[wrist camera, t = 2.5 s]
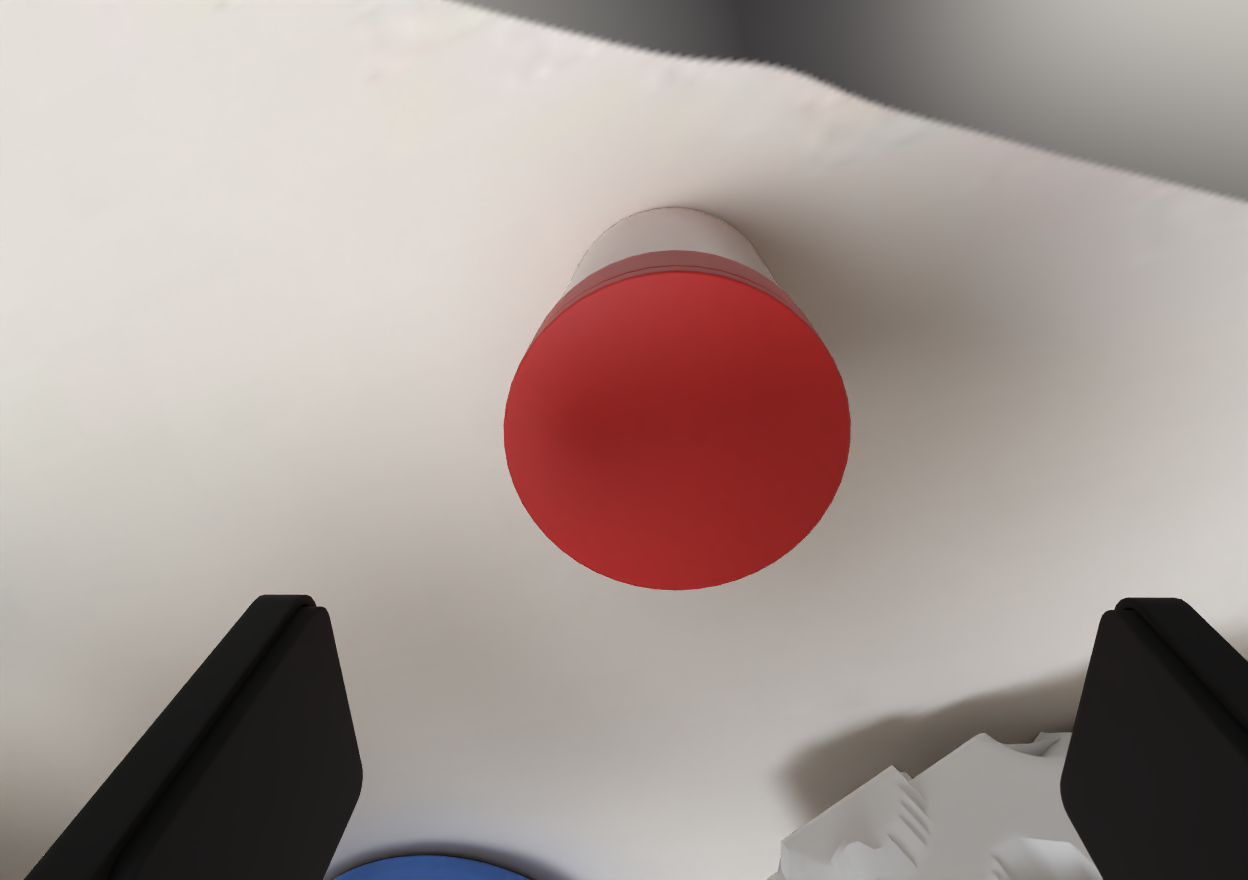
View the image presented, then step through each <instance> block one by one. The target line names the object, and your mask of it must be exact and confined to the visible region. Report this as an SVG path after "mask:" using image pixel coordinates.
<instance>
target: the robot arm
mask: <svg viewBox="0 0 1248 880" xmlns="http://www.w3.org/2000/svg"><path fill="white" fill-rule="evenodd" d="M362 780H363V770H362V764H361V759H360V754H359V750H358V745H357V741H356V736H355V731H354V727H353V722H352V718H351V713H350V708H349V704H348V699H347V694H346V690H345V685H344V681H343V676H342V671H341V667H340V662H339V658H338V653H337V648H336V644H335V639H334V635H333V630H332V625H331V621H330V617H329V614H328V611H327V610H326V608H324V607H316V604H315V601H314V600H313V599H312V597H310V596H308V595H262V596H259V597H258V598H257V599H256V600H255V601H254V602H253V603H252V604H251V605H250V606H249V608H248V609H247V610H246V611H245V613H244V614H243V615H242V616H241V617H240V619H239V620H238V621H237V622H236V623H235V625H234V626H233V627H232V628H231V629H230V631H229V632H228V633H227V634H226V636H225V637H224V638H223V639H222V640H221V642H220V643H219V644H218V645H217V646H216V648H215V649H214V650H213V651H212V652H211V654H210V655H209V656H208V657H207V659H206V660H205V661H204V662H203V663H202V665H201V666H200V667H199V668H198V669H197V671H196V672H195V673H194V674H193V675H192V677H191V678H190V679H189V680H188V682H187V683H186V684H185V685H184V686H183V688H182V689H181V690H180V691H179V692H178V694H177V695H176V696H175V697H174V698H173V700H172V701H171V702H170V703H169V705H168V706H167V707H166V708H165V709H164V711H163V712H162V713H161V714H160V715H159V717H158V718H157V719H156V720H155V721H154V723H153V724H152V725H151V726H150V728H149V729H148V730H147V731H146V732H145V734H144V735H143V736H142V737H141V738H140V740H139V741H138V742H137V743H136V744H135V746H134V747H133V748H132V749H131V750H130V752H129V753H128V754H127V755H126V757H125V758H124V759H123V760H122V761H121V763H120V764H119V765H118V766H117V767H116V769H115V770H114V771H113V772H112V773H111V775H110V776H109V777H108V778H107V780H106V781H105V782H104V783H103V784H102V786H101V787H100V788H99V789H98V790H97V792H96V793H95V794H94V795H93V796H92V798H91V799H90V800H89V801H88V803H87V804H86V805H85V806H84V807H83V809H82V810H81V811H80V812H79V813H78V815H77V816H76V817H75V818H74V819H73V821H72V822H71V823H70V824H69V826H68V827H67V828H66V829H65V830H64V832H63V833H62V834H61V835H60V836H59V838H58V839H57V840H56V841H55V842H54V844H53V845H52V846H51V847H50V849H49V850H48V851H47V852H46V853H45V855H44V856H43V857H42V858H41V859H40V861H39V862H38V863H37V864H36V865H35V867H34V868H33V869H32V870H31V872H30V873H29V874H28V875H27V876H26V878H25V879H24V880H323V878H324V876H325V873H326V871H327V869H328V867H329V864H330V862H331V860H332V858H333V855H334V853H335V851H336V849H337V846H338V844H339V842H340V840H341V837H342V835H343V833H344V831H345V828H346V826H347V824H348V822H349V819H350V817H351V815H352V813H353V810H354V808H355V806H356V803H357V801H358V798H359V796H360V792H361V788H362ZM1060 793H1061V799H1062V803H1063V806H1064V809H1065V811H1066V813H1067V816H1068V817H1069V819H1070V821H1071V823H1072V825H1073V826H1074V828H1075V830H1076V832H1077V833H1078V835H1079V837H1080V839H1081V841H1082V842H1083V844H1084V846H1085V848H1086V850H1087V851H1088V853H1089V855H1090V857H1091V859H1092V860H1093V862H1094V864H1095V866H1096V868H1097V869H1098V871H1099V873H1100V875H1101V877H1102V878H1103V880H1248V661H1246V660H1245V659H1244V658H1243V657H1242V656H1241V655H1240V654H1239V653H1238V652H1237V651H1236V650H1235V649H1234V648H1233V647H1232V646H1231V645H1230V644H1229V643H1228V642H1227V641H1226V640H1225V639H1224V638H1223V637H1222V636H1221V635H1220V634H1219V633H1218V632H1217V631H1216V630H1215V629H1214V628H1213V627H1212V626H1210V625H1209V624H1208V623H1207V622H1206V621H1205V620H1204V619H1203V618H1202V617H1201V616H1200V615H1199V614H1198V613H1197V612H1196V611H1195V610H1194V609H1193V608H1192V607H1191V606H1190V605H1189V604H1187V603H1186V602H1185V601H1183V600H1182V599H1177V598H1125V599H1122V600H1120V602H1119V603H1118V604H1117V605H1116V607H1115V610H1109V611H1106V612H1105V613H1104V614H1103V615H1102V618H1101V620H1100V623H1099V627H1098V631H1097V635H1096V639H1095V643H1094V647H1093V651H1092V655H1091V659H1090V663H1089V667H1088V671H1087V675H1086V679H1085V683H1084V687H1083V691H1082V695H1081V699H1080V703H1079V707H1078V711H1077V715H1076V719H1075V723H1074V727H1073V731H1072V735H1071V739H1070V743H1069V747H1068V751H1067V755H1066V759H1065V763H1064V767H1063V771H1062V775H1061V780H1060Z"/></svg>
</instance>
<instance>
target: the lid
mask: <svg viewBox="0 0 1248 880" xmlns="http://www.w3.org/2000/svg"><path fill="white" fill-rule="evenodd" d="M850 431H851V419H850V412H849V404H848V398H847V394H846V391H845V387H844V384H843V380H842V377H841V375H840V373H839V371H838V368H837V366H836V364H835V362H834V360H833V358H832V356H831V354H830V353H829V351H828V350H827V348H826V347H825V345H824V343H823V342H822V340H821V339H820V337H819V336H818V334H817V333H816V331H815V330H814V328H813V327H812V326H811V324H810V323H809V321H808V320H807V318H806V317H805V315H804V314H803V312H802V311H801V310H800V309H799V307H798V306H797V305H796V304H795V303H794V302H793V300H792V299H791V298H790V297H789V296H788V295H787V294H786V293H785V292H784V291H783V290H781V289H780V288H779V287H778V286H777V285H776V284H775V283H773V282H772V281H771V280H769V279H768V278H766V277H765V276H763V275H762V274H760V273H758V272H757V271H755V270H753V269H751V268H749V267H747V266H745V265H743V264H741V263H739V262H737V261H734V260H731V259H728V258H724V257H721V256H718V255H715V254H709V253H703V252H698V251H685V250H667V251H656V252H649V253H644V254H640V255H635V256H631V257H628V258H625V259H623V260H620V261H617V262H614V263H612V264H609V265H607V266H606V267H604V268H602V269H600V270H598V271H596V272H594V273H592V274H591V275H589V276H588V277H586V278H585V279H584V280H582V281H581V282H580V283H578V284H577V285H575V286H574V287H573V288H572V289H571V290H570V291H569V292H568V293H567V294H566V295H565V296H563V297H562V298H561V299H560V300H559V301H558V303H557V304H556V305H555V306H554V308H553V309H552V310H551V311H550V313H549V314H548V315H547V316H546V318H545V320H544V321H543V323H542V325H541V327H540V328H539V330H538V332H537V333H536V335H535V337H534V339H533V341H532V342H531V344H530V346H529V348H528V350H527V351H526V353H525V355H524V357H523V359H522V361H521V362H520V364H519V367H518V369H517V372H516V374H515V376H514V379H513V381H512V384H511V387H510V391H509V395H508V399H507V403H506V409H505V418H504V447H505V453H506V459H507V465H508V469H509V472H510V475H511V478H512V481H513V484H514V487H515V489H516V491H517V493H518V495H519V497H520V499H521V502H522V504H523V505H524V507H525V508H526V510H527V511H528V513H529V515H530V516H531V518H532V519H533V521H534V522H535V523H536V524H537V526H538V527H539V528H540V529H541V530H542V532H543V533H544V534H545V535H546V536H547V537H548V538H549V539H550V540H551V541H552V542H553V543H554V544H555V545H556V546H557V547H559V548H560V549H561V550H562V551H563V552H565V553H566V554H567V555H569V556H570V557H571V558H573V559H574V560H576V561H577V562H578V563H580V564H582V565H584V566H586V567H588V568H589V569H591V570H593V571H595V572H597V573H599V574H602V575H604V576H606V577H609V578H611V579H614V580H616V581H620V582H624V583H627V584H631V585H634V586H639V587H646V588H652V589H662V590H690V589H701V588H706V587H712V586H718V585H721V584H725V583H728V582H732V581H735V580H739V579H741V578H743V577H746V576H748V575H751V574H753V573H755V572H758V571H759V570H761V569H763V568H765V567H767V566H768V565H770V564H772V563H774V562H775V561H777V560H778V559H780V558H781V557H782V556H784V555H785V554H786V553H788V552H789V551H791V550H792V549H793V548H794V547H795V546H796V545H797V544H798V543H800V542H801V541H802V540H803V539H804V538H805V537H806V536H807V535H808V534H809V533H810V531H811V530H812V529H813V528H814V527H815V525H816V524H817V523H818V522H819V521H820V520H821V518H822V516H823V515H824V513H825V512H826V510H827V509H828V507H829V505H830V504H831V502H832V500H833V498H834V496H835V494H836V492H837V490H838V488H839V485H840V483H841V480H842V477H843V474H844V471H845V467H846V464H847V459H848V453H849V447H850Z"/></svg>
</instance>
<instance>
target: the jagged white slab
mask: <svg viewBox="0 0 1248 880" xmlns="http://www.w3.org/2000/svg"><path fill="white" fill-rule="evenodd" d="M1071 735H1072V732H1059V733H1045V732H1040V733H1039V735H1038V736H1037V737H1036V739H1035V740H1034V742H1033V743H1029V744H1003V743H999V742H997V741H996V740H994V739H993V738H992V737H990V736H989V735H987V734H985V733H980V734H977V735H976V736H974V737H973V738H971V739H970V740H968V741H967V742H966V743H964V744H963V745H961V746H960V747H958V748H957V749H955V750H954V751H953V752H951V753H950V754H948V755H947V756H945V757H944V758H942V759H941V760H939V761H938V762H937V763H935V764H934V765H932V766H931V767H929V768H928V769H926V770H925V771H923V772H922V773H921V774H919V775H918V776H916V777H915V778H913V779H912V778H911V777H910V776H909V775H908V774H907V773H906V772H899V771H898V770H897V769H896V768H895V767H894V766H893V765H891V766H890V767H888V768H887V769H885V770H884V771H882V772H881V773H879V774H878V775H877V776H875V777H874V778H872V779H871V780H869V781H868V782H866V783H865V784H863V785H862V786H860V787H859V788H858V789H856V790H855V791H853V792H852V793H850V794H849V795H847V796H846V797H844V798H843V799H841V800H840V801H839V802H837V803H836V804H834V805H833V806H831V807H830V808H828V809H827V810H825V811H824V812H822V813H821V814H819V815H818V816H817V817H815V818H814V819H812V820H811V821H809V822H808V823H806V824H805V825H803V826H802V827H800V828H799V829H798V830H796V831H795V832H793V833H792V834H790V835H789V836H787V837H786V838H784V839H783V840H781V858H780V863H779V869H778V872H777V873H775V874H774V875H772V876H771V877H769V878H768V879H767V880H1103V878H1102V877H1101V875H1100V873H1099V871H1098V869H1097V868H1096V866H1095V864H1094V862H1093V860H1092V859H1091V857H1090V855H1089V853H1088V851H1087V850H1086V848H1085V846H1084V844H1083V842H1082V841H1081V839H1080V837H1079V835H1078V833H1077V832H1076V830H1075V828H1074V826H1073V825H1072V823H1071V821H1070V819H1069V817H1068V816H1067V813H1066V811H1065V809H1064V806H1063V803H1062V799H1061V793H1060V780H1061V775H1062V771H1063V767H1064V763H1065V759H1066V755H1067V751H1068V747H1069V743H1070V739H1071Z"/></svg>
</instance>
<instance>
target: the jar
mask: <svg viewBox="0 0 1248 880" xmlns="http://www.w3.org/2000/svg"><path fill="white" fill-rule="evenodd" d="M667 250H685V251H698V252H703V253H709V254H715V255H718V256H721V257H724V258H728V259H731V260H734V261H737V262H739V263H741V264H743V265H745V266H747V267H749V268H751V269H753V270H755V271H757V272H758V273H760V274H762V275H763V276H765V277H766V278H768V279H769V280H771V281H772V282H773V283H775V284H776V285H777V283H776V282H775V280H774V278H773V277H772V275H771V274H770V272H769V271H768V269H767V268H766V266H765V264H764V263H763V261H762V260H761V258H760V257H759V255H758V254H757V252H756V251H755V249H754V248H753V246H752V245H751V244H750V243H749V242H748V241H747V239H746V238H745V237H744V236H742V235H741V234H740V233H739V232H738V231H737V230H736V229H735V228H733V227H732V226H730V225H729V224H727V223H726V222H724V221H722V220H720V219H718V218H716V217H714V216H712V215H710V214H707V213H703V212H700V211H697V210H692V209H686V208H671V207H668V208H658V209H652V210H648V211H643V212H640V213H637V214H635V215H632V216H629V217H627V218H625V219H623V220H622V221H620V222H618V223H616V224H615V225H613V226H612V227H610V228H609V229H608V230H606V231H605V232H604V233H603V234H602V235H601V236H600V237H599V238H598V239H597V240H596V241H594V243H593V244H592V245H591V246H590V248H589V249H588V250H587V251H586V253H585V255H584V256H583V258H582V260H581V261H580V263H579V265H578V267H577V269H576V270H575V272H574V274H573V276H572V278H571V280H570V282H569V284H568V286H567V288H566V290H565V292H564V294H563V295H562V297H563V296H565V295H566V294H567V293H568V292H569V291H570V290H571V289H572V288H573V287H574V286H575V285H577V284H578V283H580V282H581V281H582V280H584V279H585V278H586V277H588V276H589V275H591V274H592V273H594V272H596V271H598V270H600V269H602V268H604V267H606V266H607V265H609V264H612V263H614V262H617V261H620V260H623V259H625V258H628V257H631V256H635V255H640V254H644V253H649V252H656V251H667ZM777 286H778V285H777ZM778 287H779V286H778ZM562 297H561V298H562Z"/></svg>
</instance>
